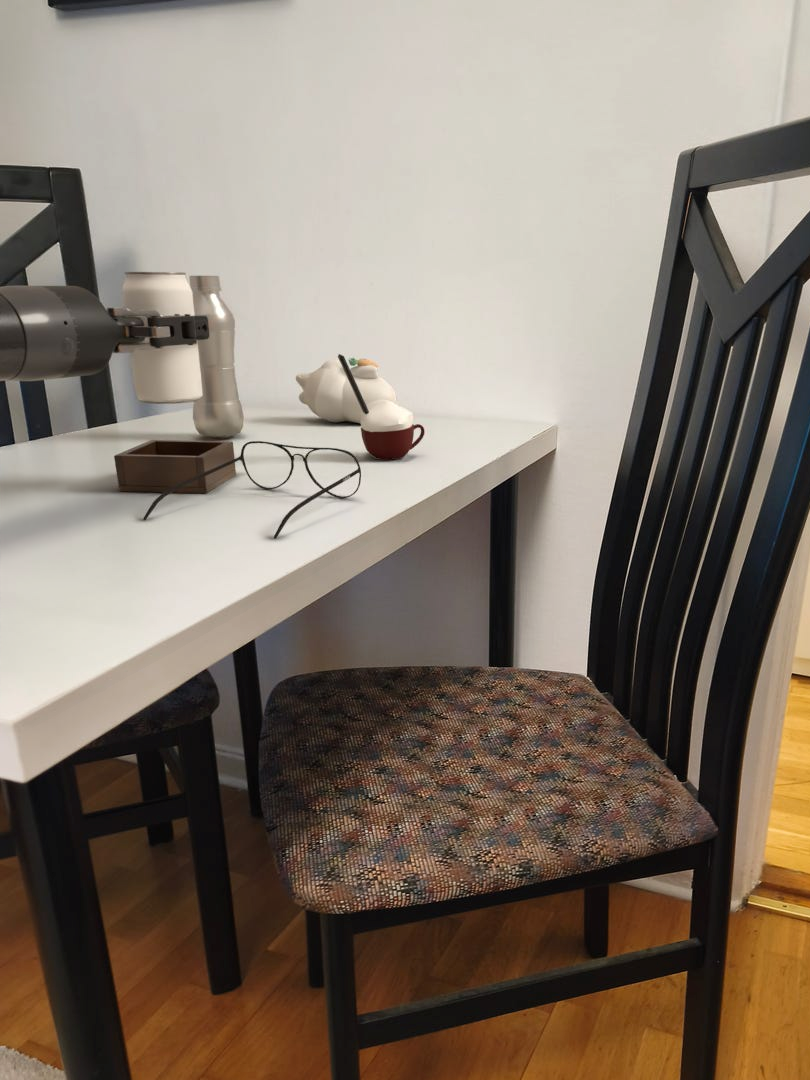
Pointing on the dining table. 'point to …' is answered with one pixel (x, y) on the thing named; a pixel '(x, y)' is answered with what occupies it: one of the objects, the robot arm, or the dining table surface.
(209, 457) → the tray
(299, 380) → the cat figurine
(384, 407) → the cocoa
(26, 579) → the dining table surface
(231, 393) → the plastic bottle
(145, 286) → the can
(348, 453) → the glasses
